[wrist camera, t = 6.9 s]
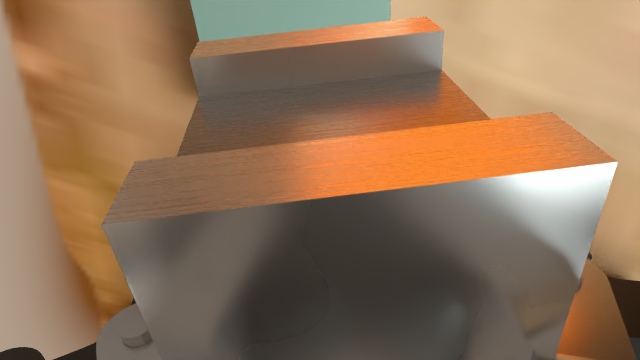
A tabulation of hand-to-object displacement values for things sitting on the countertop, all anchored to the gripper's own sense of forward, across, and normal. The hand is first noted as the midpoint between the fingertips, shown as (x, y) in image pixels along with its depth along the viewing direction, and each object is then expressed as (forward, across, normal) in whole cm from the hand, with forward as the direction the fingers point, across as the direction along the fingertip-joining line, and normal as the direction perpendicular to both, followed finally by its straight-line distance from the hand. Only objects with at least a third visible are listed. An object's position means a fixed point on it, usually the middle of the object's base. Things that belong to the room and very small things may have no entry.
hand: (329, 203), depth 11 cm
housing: (+1, 0, 0) cm, 1 cm away
